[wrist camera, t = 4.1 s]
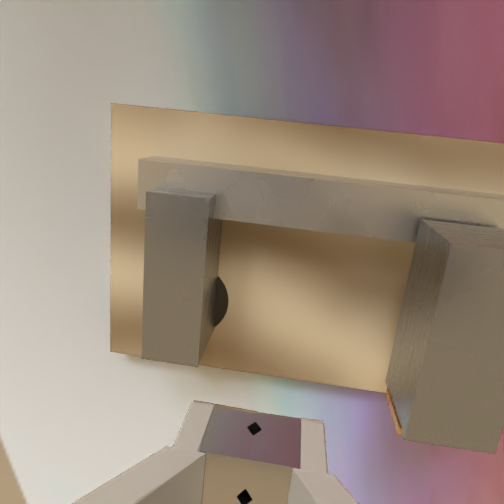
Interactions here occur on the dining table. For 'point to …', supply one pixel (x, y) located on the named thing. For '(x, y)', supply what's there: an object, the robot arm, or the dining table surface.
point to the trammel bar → (267, 213)
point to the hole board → (287, 242)
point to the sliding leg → (451, 340)
